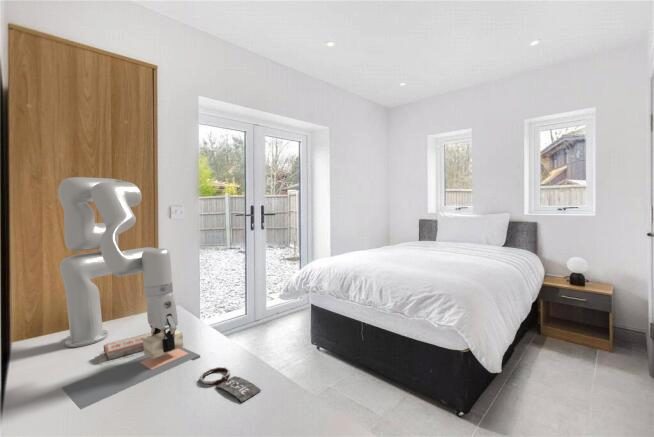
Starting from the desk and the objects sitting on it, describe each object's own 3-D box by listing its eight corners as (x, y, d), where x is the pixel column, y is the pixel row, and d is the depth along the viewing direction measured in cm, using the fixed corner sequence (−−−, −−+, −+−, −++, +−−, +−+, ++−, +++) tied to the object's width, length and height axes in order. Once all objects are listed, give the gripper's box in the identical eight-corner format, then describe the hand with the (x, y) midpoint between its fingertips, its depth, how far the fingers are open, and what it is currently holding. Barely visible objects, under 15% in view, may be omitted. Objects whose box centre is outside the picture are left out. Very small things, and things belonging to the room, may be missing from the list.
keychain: (236, 408, 72) (236, 400, 72) (194, 382, 84) (193, 374, 84) (263, 391, 78) (263, 383, 78) (220, 369, 90) (220, 362, 90)
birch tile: (173, 342, 101) (172, 328, 101) (183, 346, 98) (182, 332, 98) (144, 353, 94) (142, 339, 94) (153, 358, 91) (151, 343, 90)
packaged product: (160, 327, 112) (165, 335, 104) (161, 340, 113) (166, 350, 104) (98, 342, 102) (98, 353, 94) (99, 356, 102) (99, 369, 94)
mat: (61, 389, 83) (61, 386, 83) (174, 345, 107) (174, 342, 107) (81, 411, 73) (80, 408, 73) (200, 357, 97) (200, 354, 97)
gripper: (185, 290, 93) (190, 349, 94) (158, 283, 103) (163, 337, 104) (159, 296, 87) (165, 360, 88) (133, 289, 97) (138, 346, 98)
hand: (163, 347), depth 96 cm, fingers closed on birch tile, 6 cm apart
